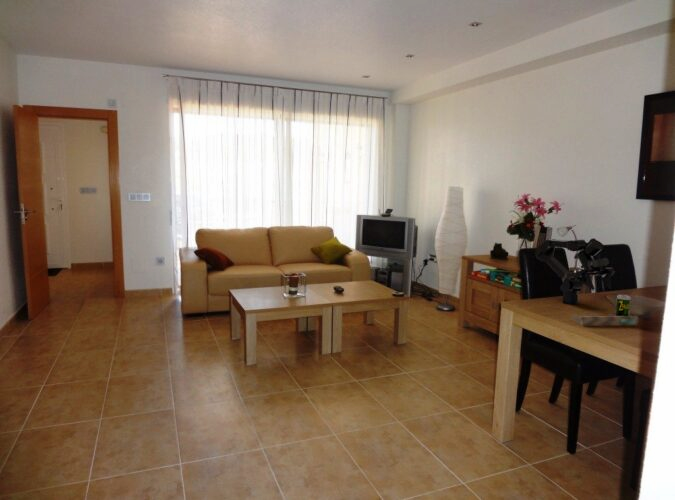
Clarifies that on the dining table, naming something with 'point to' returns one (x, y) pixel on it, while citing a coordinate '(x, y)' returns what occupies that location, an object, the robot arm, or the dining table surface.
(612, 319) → the can rack
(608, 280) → the robot arm
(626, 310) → the beer can
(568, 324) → the dining table surface
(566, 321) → the dining table surface
